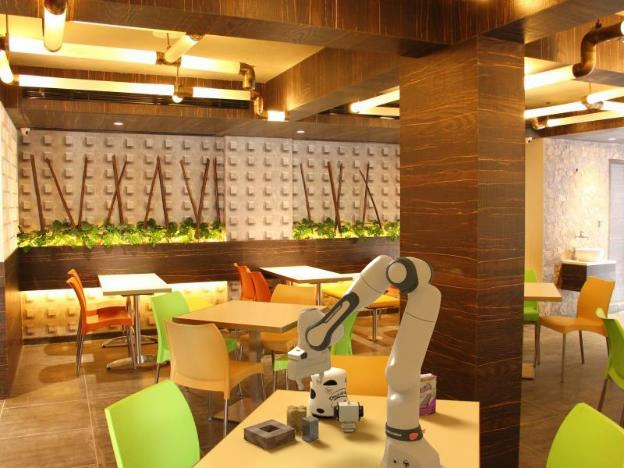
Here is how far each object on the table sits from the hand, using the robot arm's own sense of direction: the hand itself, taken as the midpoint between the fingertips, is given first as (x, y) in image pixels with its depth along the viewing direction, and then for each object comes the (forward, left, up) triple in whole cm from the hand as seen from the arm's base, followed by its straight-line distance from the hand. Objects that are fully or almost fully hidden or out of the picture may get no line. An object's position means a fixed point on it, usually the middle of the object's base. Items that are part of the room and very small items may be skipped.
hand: (310, 386), depth 229 cm
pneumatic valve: (-4, -17, -21) cm, 27 cm away
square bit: (0, 0, -20) cm, 20 cm away
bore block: (+11, +11, -20) cm, 26 cm away
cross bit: (+12, -4, -20) cm, 24 cm away
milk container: (+15, -25, -21) cm, 35 cm away
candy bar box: (-13, -54, -21) cm, 59 cm away
